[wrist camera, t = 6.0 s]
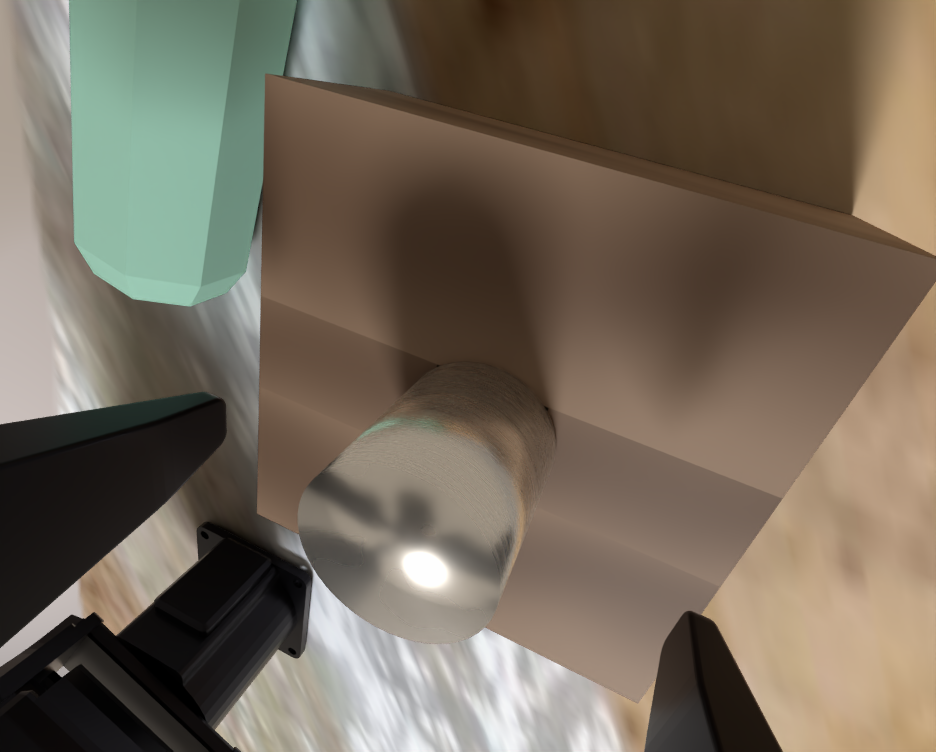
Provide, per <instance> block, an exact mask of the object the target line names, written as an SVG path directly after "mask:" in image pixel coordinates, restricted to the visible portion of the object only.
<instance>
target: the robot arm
mask: <svg viewBox="0 0 936 752" xmlns="http://www.w3.org/2000/svg"><path fill="white" fill-rule="evenodd" d="M226 432H227V428H226V404H225V402H224V400H223V399H221V398H219V397H217V396H215V395H213V394H210V393H208V392H199V393H193V394H186V395H180V396H174V397H168V398H162V399H155V400H149V401H143V402H137V403H130V404H124V405H118V406H112V407H106V408H99V409H93V410H87V411H81V412H75V413H68V414H62V415H56V416H50V417H44V418H38V419H32V420H25V421H19V422H12V423H6V424H1V425H0V648H1V647H2V646H3V645H4V644H5V643H6V642H8V641H9V640H10V639H11V638H12V637H13V636H14V635H16V634H17V633H18V632H19V631H20V630H21V629H22V628H23V627H25V626H26V625H27V624H28V623H29V622H30V621H32V620H33V619H34V618H35V617H36V616H37V615H38V614H39V613H41V612H42V611H43V610H44V609H45V608H46V607H48V606H49V605H50V604H51V603H52V602H53V601H54V600H56V598H58V597H59V596H60V595H61V594H62V593H63V592H65V591H66V590H67V589H68V588H69V587H70V586H71V585H73V584H74V583H75V582H76V581H77V580H78V579H79V578H81V577H82V576H83V575H84V574H85V573H86V572H87V571H89V570H90V569H91V568H92V567H93V566H94V565H95V564H97V563H98V562H99V561H100V560H101V559H102V558H103V557H105V556H106V555H107V554H108V553H109V552H110V551H111V550H113V549H114V548H115V547H116V546H117V545H118V544H119V543H121V542H122V541H123V540H124V539H125V538H126V537H127V536H129V535H130V534H131V533H132V532H133V531H134V530H135V529H137V528H138V527H139V526H140V525H141V524H142V523H143V522H145V521H146V520H147V519H148V518H149V517H150V516H151V515H153V514H154V513H155V512H156V511H157V510H158V509H159V508H160V507H161V506H162V505H164V504H165V503H166V502H167V501H168V500H169V499H170V498H171V497H172V496H173V495H174V494H175V493H176V492H177V491H178V490H179V489H180V488H181V487H182V485H183V484H184V483H185V482H186V481H187V480H188V479H189V478H190V477H191V476H192V475H193V474H194V473H195V472H196V471H197V470H198V469H199V467H200V466H201V465H202V464H203V463H204V462H205V461H206V460H207V459H208V458H209V457H210V456H211V455H212V454H213V453H214V452H215V451H216V449H217V448H218V447H219V446H220V445H221V444H222V442H223V441H224V439H225V437H226ZM197 544H198V560H199V561H197V562H196V563H195V564H194V565H193V566H192V567H191V568H189V569H188V570H187V571H186V572H185V573H184V574H183V575H182V576H180V577H179V578H178V579H177V580H176V581H175V582H174V583H172V584H171V585H170V586H169V587H168V588H167V589H166V590H165V591H163V592H162V593H161V594H160V595H159V596H158V597H157V598H156V599H155V600H154V602H153V603H152V604H151V605H150V606H149V607H148V608H147V609H146V610H144V611H143V612H142V613H141V614H140V615H139V616H138V617H137V618H135V619H134V620H133V621H132V622H131V623H130V624H129V625H128V626H126V627H125V628H124V629H123V630H122V631H121V632H120V633H119V634H117V635H116V636H115V635H114V634H113V633H112V632H111V631H110V630H109V629H108V628H107V627H106V626H105V625H104V624H103V621H104V620H103V619H101V618H100V617H99V616H98V615H97V614H96V613H95V612H94V613H92V614H91V615H89V616H88V617H87V618H86V619H84V618H83V619H82V618H79V617H77V616H74V615H70V616H69V617H68V618H66V619H65V620H64V621H63V622H61V623H60V624H59V625H58V626H56V627H55V628H54V629H53V630H51V631H50V632H49V633H47V634H46V635H45V636H44V637H42V638H41V639H40V640H38V641H37V642H36V643H34V644H33V645H32V646H30V647H29V648H28V649H26V650H25V651H23V652H22V653H21V654H19V655H17V656H16V657H15V658H13V659H12V660H10V661H9V662H7V663H6V664H4V665H3V666H1V667H0V752H241V751H240V750H239V749H238V748H237V747H234V748H233V747H232V746H231V745H230V744H229V743H227V742H226V741H225V740H224V739H223V738H222V737H221V736H220V735H219V734H218V733H217V732H216V731H215V729H216V728H217V726H218V725H219V724H220V723H221V721H222V720H223V719H224V717H225V716H226V715H227V714H228V712H229V711H230V710H231V708H232V707H233V706H234V705H235V703H236V702H237V701H238V700H239V698H240V697H241V696H242V694H243V693H244V692H245V691H246V689H247V688H248V687H249V686H250V684H251V683H252V682H253V680H254V679H255V678H256V677H257V675H258V674H259V673H260V671H261V670H262V669H263V668H264V666H265V665H266V664H267V663H268V661H269V660H270V659H271V657H272V656H273V655H274V654H275V652H276V651H277V650H278V649H279V650H280V651H282V652H284V653H286V654H288V655H289V656H291V657H293V658H299V657H300V656H301V655H302V653H303V652H304V650H305V644H306V634H307V624H308V614H309V604H310V594H311V584H312V581H311V578H310V576H309V575H308V574H307V573H306V572H305V571H303V570H301V569H299V568H297V567H295V566H293V565H291V564H289V563H287V562H285V561H284V560H282V559H280V558H278V557H276V556H274V555H272V554H270V553H268V552H266V551H264V550H262V549H260V548H258V547H256V546H254V545H253V544H251V543H249V542H247V541H245V540H243V539H241V538H239V537H237V536H235V535H233V534H231V533H229V532H227V531H225V530H223V529H222V528H220V527H218V526H216V525H214V524H212V523H209V522H204V523H203V524H202V525H201V526H200V527H198V528H197ZM62 666H64V667H65V668H66V669H67V670H69V671H70V672H69V673H67V674H66V675H65V676H63V677H60V675H58V674H57V673H56V672H57V671H58V670H59V669H60V668H61V667H62ZM644 752H783V751H782V749H781V747H780V745H779V743H778V742H777V740H776V738H775V736H774V734H773V732H772V730H771V728H770V726H769V724H768V722H767V721H766V719H765V717H764V715H763V713H762V711H761V709H760V707H759V705H758V703H757V701H756V700H755V698H754V696H753V694H752V692H751V690H750V688H749V686H748V684H747V682H746V680H745V679H744V677H743V675H742V673H741V671H740V669H739V667H738V665H737V663H736V661H735V659H734V658H733V656H732V654H731V652H730V650H729V648H728V646H727V644H726V642H725V640H724V638H723V637H722V635H721V633H720V631H719V629H718V627H717V625H716V624H715V623H714V622H713V621H712V620H711V619H709V618H706V617H704V616H702V615H700V614H698V613H695V612H693V611H686V612H684V613H683V615H682V616H681V617H680V619H679V620H678V622H677V623H676V625H675V626H674V628H673V629H672V631H671V632H670V633H669V635H668V636H667V638H666V640H665V642H664V644H663V647H662V650H661V654H660V660H659V666H658V672H657V678H656V684H655V689H654V695H653V701H652V707H651V713H650V719H649V725H648V731H647V737H646V744H645V751H644Z"/></svg>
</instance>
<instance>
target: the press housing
mask: <svg viewBox="0 0 936 752" xmlns="http://www.w3.org/2000/svg"><path fill="white" fill-rule="evenodd" d="M935 282H936V256H934V255H932V254H930V253H928V252H926V251H924V250H922V249H920V248H918V247H916V246H914V245H912V244H910V243H908V242H906V241H904V240H902V239H900V238H898V237H896V236H894V235H892V234H890V233H887V232H885V231H883V230H881V229H879V228H877V227H875V226H873V225H871V224H869V223H867V222H865V221H863V220H861V219H859V218H857V217H855V216H853V215H849V214H845V213H842V212H838V211H834V210H830V209H827V208H823V207H819V206H816V205H812V204H808V203H804V202H801V201H797V200H793V199H790V198H786V197H782V196H778V195H775V194H771V193H767V192H764V191H760V190H756V189H752V188H749V187H745V186H741V185H737V184H734V183H730V182H726V181H723V180H719V179H715V178H711V177H708V176H704V175H700V174H697V173H693V172H689V171H685V170H682V169H678V168H674V167H671V166H667V165H663V164H659V163H656V162H652V161H648V160H644V159H641V158H637V157H633V156H630V155H626V154H622V153H618V152H615V151H611V150H607V149H604V148H600V147H596V146H592V145H589V144H585V143H581V142H578V141H574V140H570V139H566V138H563V137H559V136H555V135H552V134H548V133H544V132H540V131H537V130H533V129H529V128H525V127H522V126H518V125H514V124H511V123H507V122H503V121H499V120H496V119H492V118H488V117H485V116H481V115H477V114H473V113H470V112H466V111H462V110H459V109H455V108H451V107H447V106H444V105H440V104H436V103H432V102H429V101H425V100H421V99H418V98H414V97H410V96H406V95H403V94H399V93H395V92H392V91H387V90H380V89H373V88H365V87H358V86H351V85H344V84H337V83H330V82H323V81H316V80H309V79H302V78H295V77H288V76H280V75H273V74H266V73H265V103H264V158H263V212H262V267H261V321H260V375H259V430H258V484H257V514H259V515H261V516H263V517H265V518H267V519H269V520H271V521H273V522H275V523H277V524H279V525H281V526H283V527H285V528H287V529H289V530H291V531H293V532H295V533H297V534H299V529H298V508H299V503H300V500H301V497H302V494H303V492H304V491H305V489H306V487H307V486H308V485H309V483H310V482H311V481H312V480H313V479H314V478H315V477H316V476H317V475H318V474H319V473H320V472H321V471H322V470H323V469H325V468H326V467H327V466H328V465H329V464H330V463H331V462H332V461H333V460H334V459H335V458H336V457H337V456H338V455H339V454H340V453H342V452H343V451H344V450H345V449H346V448H347V447H348V446H349V445H350V444H351V443H352V442H353V441H354V440H355V439H356V438H358V437H359V436H360V435H361V434H362V433H363V432H364V431H365V430H366V429H367V428H368V427H369V426H370V425H371V424H372V423H374V422H375V421H376V420H377V419H378V418H379V417H380V416H381V415H382V414H383V413H384V412H385V411H386V410H387V409H388V408H390V407H391V406H392V405H393V404H394V403H395V402H396V401H397V400H398V399H399V398H400V397H401V396H402V395H403V394H404V393H406V392H407V391H408V390H409V389H410V388H411V387H412V386H413V385H414V384H415V383H416V382H417V381H418V380H419V379H420V378H422V377H423V376H424V375H425V374H426V373H428V372H429V371H431V370H433V369H434V368H436V367H439V366H441V365H444V364H447V363H452V362H460V361H470V362H479V363H484V364H488V365H491V366H494V367H497V368H499V369H502V370H504V371H506V372H508V373H510V374H511V375H513V376H515V377H516V378H518V379H519V380H520V381H521V382H523V383H524V384H525V385H526V386H527V387H528V388H530V389H531V390H532V391H533V392H534V394H535V395H536V396H537V397H538V398H539V400H540V401H541V402H542V404H543V406H544V407H545V409H546V410H547V412H548V415H549V417H550V419H551V421H552V425H553V428H554V432H555V438H556V453H555V459H554V462H553V466H552V468H551V471H550V473H549V476H548V479H547V481H546V484H545V486H544V489H543V491H542V494H541V496H540V499H539V502H538V504H537V507H536V509H535V512H534V514H533V517H532V520H531V522H530V525H529V527H528V530H527V532H526V535H525V537H524V540H523V543H522V545H521V548H520V550H519V553H518V555H517V558H516V560H515V563H514V566H513V568H512V571H511V573H510V576H509V578H508V581H507V583H506V586H505V589H504V591H503V594H502V596H501V599H500V601H499V604H498V606H497V609H496V611H495V613H494V615H493V617H492V619H491V620H490V622H489V623H488V624H487V625H486V627H485V628H487V629H489V630H491V631H493V632H495V633H497V634H499V635H501V636H503V637H505V638H507V639H509V640H511V641H513V642H515V643H517V644H519V645H521V646H523V647H525V648H527V649H529V650H531V651H533V652H535V653H537V654H539V655H541V656H543V657H545V658H547V659H549V660H551V661H553V662H555V663H557V664H559V665H561V666H563V667H565V668H567V669H569V670H571V671H573V672H575V673H577V674H579V675H582V676H584V677H586V678H588V679H590V680H592V681H594V682H596V683H598V684H600V685H602V686H604V687H606V688H608V689H610V690H612V691H614V692H616V693H618V694H620V695H622V696H624V697H626V698H628V699H630V700H632V701H634V702H636V703H639V702H640V700H641V699H642V697H643V696H644V694H645V693H646V692H647V690H648V689H649V687H650V686H651V685H652V683H653V682H654V680H655V679H656V677H657V672H658V666H659V660H660V654H661V650H662V647H663V644H664V642H665V640H666V638H667V636H668V635H669V633H670V632H671V631H672V629H673V628H674V626H675V625H676V623H677V622H678V620H679V619H680V617H681V616H682V615H683V613H684V612H686V611H693V612H695V613H698V614H700V615H701V614H702V612H703V611H704V609H705V608H706V607H707V605H708V604H709V602H710V601H711V599H712V598H713V597H714V595H715V594H716V592H717V591H718V590H719V588H720V587H721V585H722V584H723V582H724V581H725V580H726V578H727V577H728V575H729V574H730V573H731V571H732V570H733V568H734V567H735V565H736V564H737V563H738V561H739V560H740V558H741V557H742V556H743V554H744V553H745V551H746V550H747V548H748V547H749V546H750V544H751V543H752V541H753V540H754V539H755V537H756V536H757V534H758V533H759V531H760V530H761V529H762V527H763V526H764V524H765V523H766V521H767V520H768V519H769V517H770V516H771V514H772V513H773V512H774V510H775V509H776V507H777V506H778V504H779V503H780V502H781V500H782V499H783V497H784V496H785V495H786V493H787V492H788V490H789V489H790V487H791V486H792V485H793V483H794V482H795V480H796V479H797V478H798V476H799V475H800V473H801V472H802V470H803V469H804V468H805V466H806V465H807V463H808V462H809V461H810V459H811V458H812V456H813V455H814V453H815V452H816V451H817V449H818V448H819V446H820V445H821V444H822V442H823V441H824V439H825V438H826V436H827V435H828V434H829V432H830V431H831V429H832V428H833V426H834V425H835V424H836V422H837V421H838V419H839V418H840V417H841V415H842V414H843V412H844V411H845V409H846V408H847V407H848V405H849V404H850V402H851V401H852V400H853V398H854V397H855V395H856V394H857V392H858V391H859V390H860V388H861V387H862V385H863V384H864V383H865V381H866V380H867V378H868V377H869V375H870V374H871V373H872V371H873V370H874V368H875V367H876V366H877V364H878V363H879V361H880V360H881V358H882V357H883V356H884V354H885V353H886V351H887V350H888V349H889V347H890V346H891V344H892V343H893V341H894V340H895V339H896V337H897V336H898V334H899V333H900V331H901V330H902V329H903V327H904V326H905V324H906V323H907V322H908V320H909V319H910V317H911V316H912V314H913V313H914V312H915V310H916V309H917V307H918V306H919V305H920V303H921V302H922V300H923V299H924V297H925V296H926V295H927V293H928V292H929V290H930V289H931V288H932V286H933V285H934V283H935Z"/></svg>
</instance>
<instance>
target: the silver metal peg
mask: <svg viewBox="0 0 936 752" xmlns="http://www.w3.org/2000/svg"><path fill="white" fill-rule="evenodd" d="M555 453H556V438H555V432H554V428H553V425H552V421H551V419H550V417H549V415H548V412H547V410H546V409H545V407H544V406H543V404H542V402H541V401H540V400H539V398H538V397H537V396H536V395H535V394H534V392H533V391H532V390H531V389H530V388H528V387H527V386H526V385H525V384H524V383H523V382H521V381H520V380H519V379H518V378H516V377H515V376H513V375H511V374H510V373H508V372H506V371H504V370H502V369H499V368H497V367H494V366H491V365H488V364H484V363H479V362H470V361H460V362H452V363H447V364H444V365H441V366H439V367H436V368H434V369H433V370H431V371H429V372H428V373H426V374H425V375H424V376H423V377H422V378H420V379H419V380H418V381H417V382H416V383H415V384H414V385H413V386H412V387H411V388H410V389H409V390H408V391H407V392H406V393H404V394H403V395H402V396H401V397H400V398H399V399H398V400H397V401H396V402H395V403H394V404H393V405H392V406H391V407H390V408H388V409H387V410H386V411H385V412H384V413H383V414H382V415H381V416H380V417H379V418H378V419H377V420H376V421H375V422H374V423H372V424H371V425H370V426H369V427H368V428H367V429H366V430H365V431H364V432H363V433H362V434H361V435H360V436H359V437H358V438H356V439H355V440H354V441H353V442H352V443H351V444H350V445H349V446H348V447H347V448H346V449H345V450H344V451H343V452H342V453H340V454H339V455H338V456H337V457H336V458H335V459H334V460H333V461H332V462H331V463H330V464H329V465H328V466H327V467H326V468H325V469H323V470H322V471H321V472H320V473H319V474H318V475H317V476H316V477H315V478H314V479H313V480H312V481H311V482H310V483H309V485H308V486H307V487H306V489H305V491H304V492H303V494H302V497H301V500H300V503H299V508H298V529H299V535H300V539H301V542H302V546H303V548H304V551H305V553H306V556H307V558H308V559H309V561H310V563H311V565H312V567H313V568H314V570H315V572H316V573H317V575H318V576H319V578H320V579H321V580H322V581H323V583H324V584H325V585H326V587H327V588H328V589H329V590H330V591H331V592H332V593H333V594H334V595H335V596H336V597H337V598H338V599H339V600H340V601H341V602H342V603H343V604H344V605H345V606H346V607H348V608H349V609H350V610H351V611H353V612H354V613H355V614H357V615H358V616H360V617H361V618H363V619H364V620H365V621H367V622H369V623H370V624H372V625H374V626H376V627H377V628H379V629H382V630H384V631H386V632H388V633H390V634H393V635H395V636H398V637H401V638H404V639H408V640H411V641H416V642H421V643H429V644H449V643H454V642H459V641H462V640H465V639H468V638H470V637H472V636H474V635H475V634H477V633H479V632H480V631H481V630H482V629H483V628H485V627H486V625H487V624H488V623H489V622H490V620H491V619H492V617H493V615H494V613H495V611H496V609H497V606H498V604H499V601H500V599H501V596H502V594H503V591H504V589H505V586H506V583H507V581H508V578H509V576H510V573H511V571H512V568H513V566H514V563H515V560H516V558H517V555H518V553H519V550H520V548H521V545H522V543H523V540H524V537H525V535H526V532H527V530H528V527H529V525H530V522H531V520H532V517H533V514H534V512H535V509H536V507H537V504H538V502H539V499H540V496H541V494H542V491H543V489H544V486H545V484H546V481H547V479H548V476H549V473H550V471H551V468H552V466H553V462H554V459H555Z"/></svg>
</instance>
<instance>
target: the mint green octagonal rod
mask: <svg viewBox="0 0 936 752" xmlns="http://www.w3.org/2000/svg"><path fill="white" fill-rule="evenodd" d="M296 4H297V0H69V19H70V68H71V117H72V165H73V214H74V243H75V245H76V246H77V248H78V249H79V251H80V253H81V254H82V256H83V257H84V259H85V260H86V262H87V264H88V265H89V267H90V268H91V270H92V271H93V273H94V274H95V275H97V276H98V277H100V278H101V279H103V280H104V281H106V282H107V283H109V284H110V285H112V286H114V287H115V288H117V289H118V290H120V291H121V292H123V293H124V294H126V295H127V296H129V297H130V298H132V299H136V300H143V301H151V302H159V303H166V304H174V305H182V306H193V305H196V304H198V303H201V302H204V301H207V300H209V299H212V298H215V297H217V296H220V295H223V294H225V293H227V292H228V291H229V290H230V289H231V287H232V286H233V285H234V284H235V283H236V282H237V281H238V280H239V279H240V277H241V276H242V275H243V274H244V273H245V272H246V268H247V263H248V257H249V252H250V247H251V242H252V236H253V231H254V226H255V220H256V215H257V210H258V204H259V199H260V194H261V189H262V183H263V158H264V103H265V73H266V74H273V75H280V76H283V72H284V67H285V62H286V56H287V51H288V46H289V41H290V35H291V30H292V25H293V19H294V14H295V9H296Z"/></svg>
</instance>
